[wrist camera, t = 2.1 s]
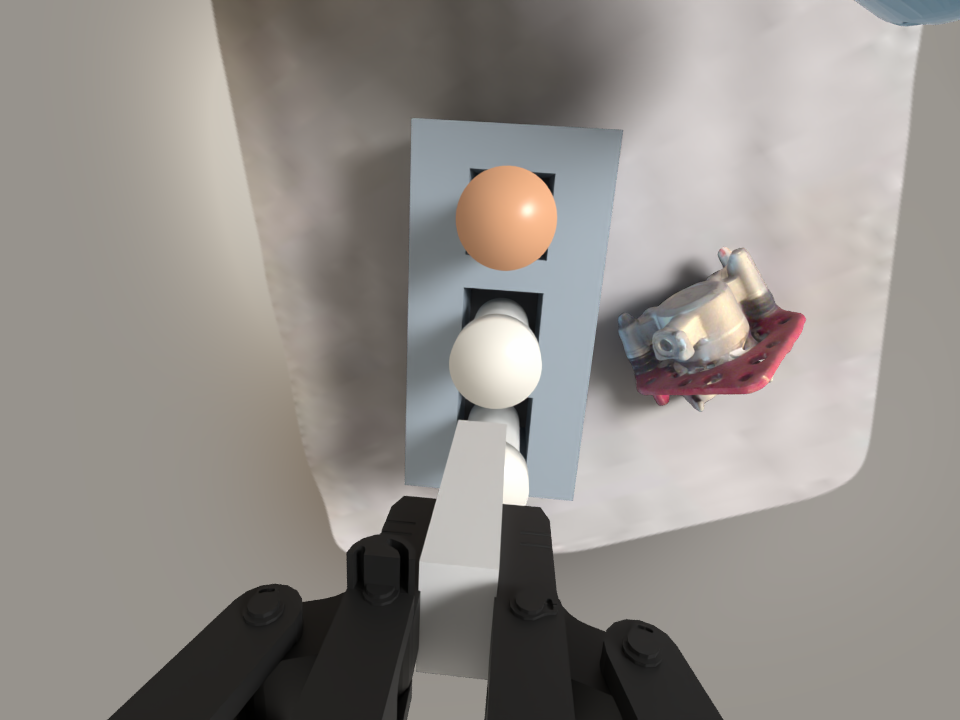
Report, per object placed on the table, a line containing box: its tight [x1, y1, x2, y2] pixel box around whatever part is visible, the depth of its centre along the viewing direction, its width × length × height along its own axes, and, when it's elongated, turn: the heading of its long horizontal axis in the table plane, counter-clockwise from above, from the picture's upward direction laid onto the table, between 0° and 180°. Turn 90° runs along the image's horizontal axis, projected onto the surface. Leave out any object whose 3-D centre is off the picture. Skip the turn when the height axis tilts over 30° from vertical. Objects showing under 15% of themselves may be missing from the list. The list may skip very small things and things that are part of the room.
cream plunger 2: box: [468, 405, 529, 506], centre depth 31 cm, size 5×5×9 cm
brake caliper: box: [618, 247, 806, 412], centre depth 35 cm, size 11×11×12 cm
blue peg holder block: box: [405, 118, 623, 501], centre depth 36 cm, size 24×12×7 cm, turn 176°
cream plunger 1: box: [449, 298, 542, 409], centre depth 29 cm, size 5×5×9 cm
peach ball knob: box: [456, 166, 557, 271], centre depth 27 cm, size 5×5×9 cm
